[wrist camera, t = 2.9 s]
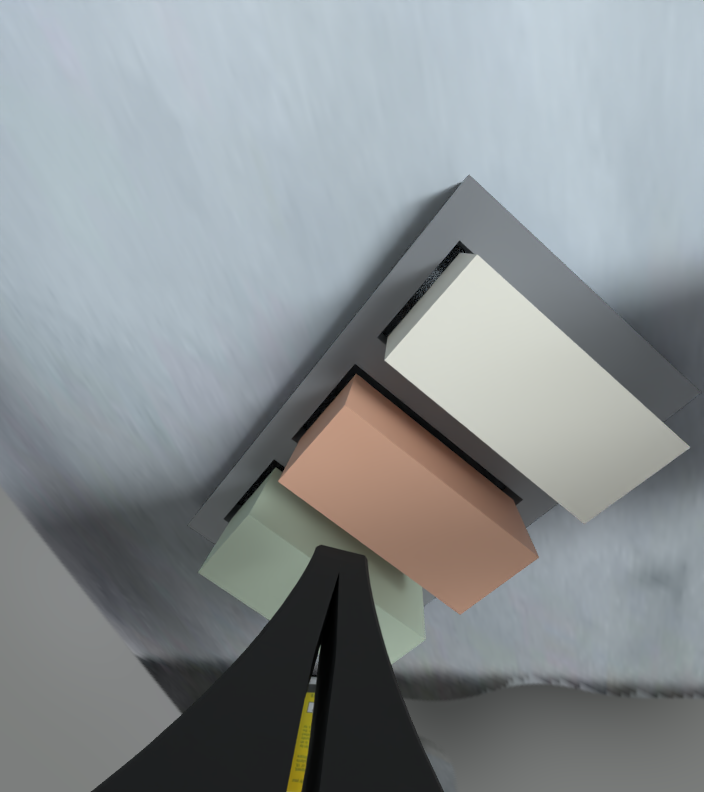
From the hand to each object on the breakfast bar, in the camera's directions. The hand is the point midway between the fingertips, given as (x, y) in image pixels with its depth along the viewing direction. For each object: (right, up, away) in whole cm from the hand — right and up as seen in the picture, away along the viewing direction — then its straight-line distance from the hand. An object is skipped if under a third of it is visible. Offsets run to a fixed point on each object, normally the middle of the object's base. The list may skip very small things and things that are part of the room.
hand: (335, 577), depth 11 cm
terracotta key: (+3, +2, +7) cm, 8 cm away
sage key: (-1, -3, +9) cm, 9 cm away
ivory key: (+7, +6, +5) cm, 10 cm away
